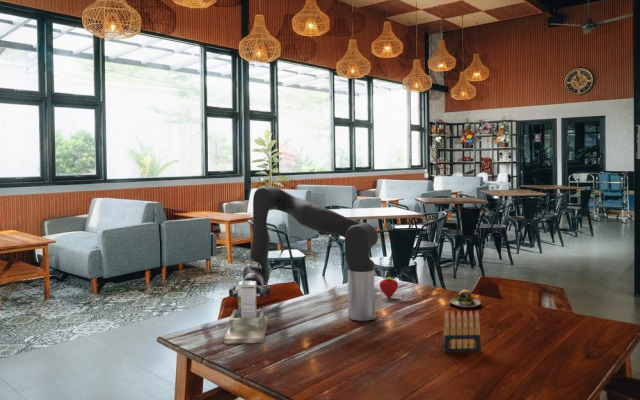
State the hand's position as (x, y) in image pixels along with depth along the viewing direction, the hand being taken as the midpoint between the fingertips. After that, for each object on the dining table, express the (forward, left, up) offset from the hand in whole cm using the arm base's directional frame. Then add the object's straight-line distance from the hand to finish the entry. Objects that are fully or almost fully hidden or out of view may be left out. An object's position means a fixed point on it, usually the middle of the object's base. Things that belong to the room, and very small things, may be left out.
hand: (248, 296), depth 176 cm
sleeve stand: (0, +5, -10) cm, 12 cm away
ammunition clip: (-64, +28, -11) cm, 71 cm away
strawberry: (-53, -32, -11) cm, 63 cm away
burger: (-80, -19, -11) cm, 83 cm away
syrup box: (0, +4, -9) cm, 10 cm away
